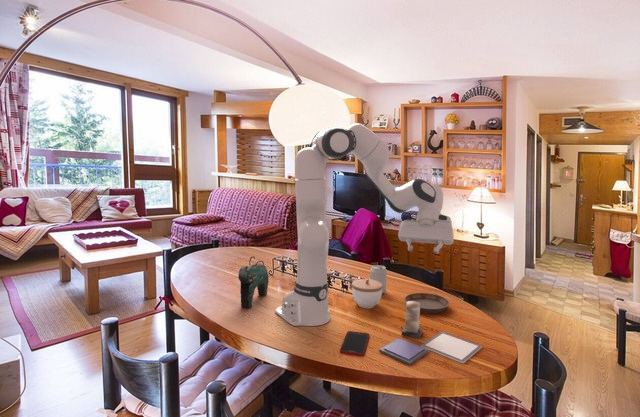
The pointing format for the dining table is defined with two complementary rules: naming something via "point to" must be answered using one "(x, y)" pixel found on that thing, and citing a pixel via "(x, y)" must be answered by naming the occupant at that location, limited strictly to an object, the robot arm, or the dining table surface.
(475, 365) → the dining table surface
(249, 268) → the green elephant figure
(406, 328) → the stamp
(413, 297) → the plant saucer
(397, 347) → the ink pad
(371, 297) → the lidded bowl
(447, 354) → the marked square
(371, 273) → the can
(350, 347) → the cell phone
